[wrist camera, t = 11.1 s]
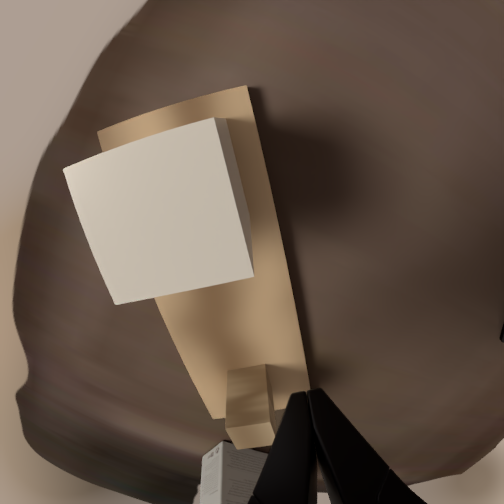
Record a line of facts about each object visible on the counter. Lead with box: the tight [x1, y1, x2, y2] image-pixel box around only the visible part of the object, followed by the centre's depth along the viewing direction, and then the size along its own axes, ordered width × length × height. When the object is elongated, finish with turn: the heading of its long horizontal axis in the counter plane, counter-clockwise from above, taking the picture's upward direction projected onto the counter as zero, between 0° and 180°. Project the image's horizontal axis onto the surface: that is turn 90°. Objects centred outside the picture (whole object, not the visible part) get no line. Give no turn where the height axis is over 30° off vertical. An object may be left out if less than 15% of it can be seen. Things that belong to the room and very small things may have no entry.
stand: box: [97, 85, 310, 450], centre depth 17 cm, size 8×22×6 cm, turn 13°
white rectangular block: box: [63, 117, 254, 305], centre depth 13 cm, size 5×5×7 cm
